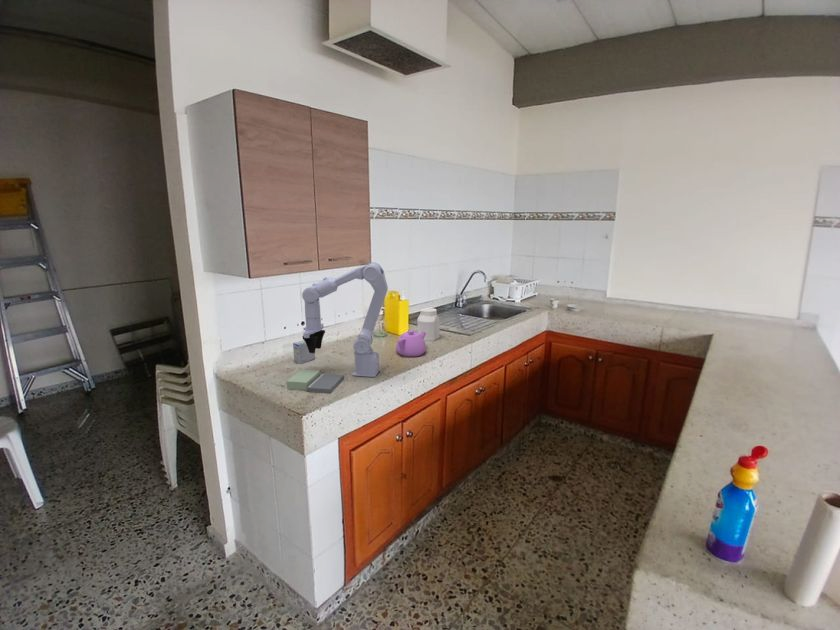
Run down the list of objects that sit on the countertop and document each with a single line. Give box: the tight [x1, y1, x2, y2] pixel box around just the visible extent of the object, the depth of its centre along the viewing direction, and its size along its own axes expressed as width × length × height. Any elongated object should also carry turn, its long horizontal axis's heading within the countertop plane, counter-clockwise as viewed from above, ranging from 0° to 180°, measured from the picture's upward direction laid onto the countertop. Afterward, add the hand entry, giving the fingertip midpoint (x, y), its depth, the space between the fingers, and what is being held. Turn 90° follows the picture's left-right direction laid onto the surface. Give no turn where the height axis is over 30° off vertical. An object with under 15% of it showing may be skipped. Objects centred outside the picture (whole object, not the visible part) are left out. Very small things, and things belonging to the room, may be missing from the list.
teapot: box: [395, 329, 427, 358], centre depth 193 cm, size 14×20×11 cm
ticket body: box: [306, 373, 345, 394], centre depth 156 cm, size 9×14×2 cm, turn 170°
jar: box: [416, 307, 441, 342], centre depth 214 cm, size 12×10×15 cm
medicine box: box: [292, 340, 316, 365], centre depth 182 cm, size 8×4×9 cm, turn 141°
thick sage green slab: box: [286, 369, 321, 391], centre depth 158 cm, size 8×12×3 cm, turn 170°
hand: (315, 350), depth 166 cm, fingers open, 5 cm apart
